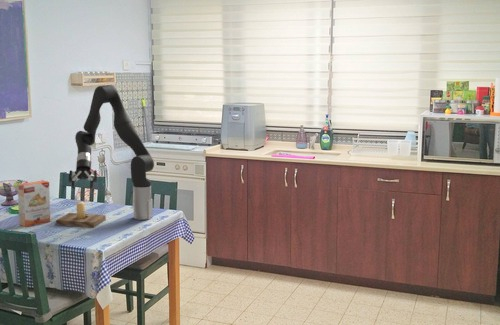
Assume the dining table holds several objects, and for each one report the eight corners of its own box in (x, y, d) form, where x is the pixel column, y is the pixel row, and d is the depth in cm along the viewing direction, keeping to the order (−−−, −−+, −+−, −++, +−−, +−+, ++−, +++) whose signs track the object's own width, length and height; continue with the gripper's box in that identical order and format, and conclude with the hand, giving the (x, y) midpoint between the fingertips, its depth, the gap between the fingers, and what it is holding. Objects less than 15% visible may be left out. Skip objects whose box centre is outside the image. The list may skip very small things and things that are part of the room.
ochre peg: (86, 221, 281) (86, 202, 279) (83, 223, 277) (82, 204, 275) (79, 221, 282) (78, 202, 280) (75, 223, 278) (75, 203, 276)
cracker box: (25, 227, 268) (23, 185, 265) (18, 225, 272) (16, 183, 268) (51, 221, 279) (49, 181, 276) (44, 219, 283) (42, 179, 279)
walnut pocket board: (105, 219, 285) (105, 215, 284) (94, 227, 271) (94, 222, 271) (69, 217, 288) (68, 212, 287) (55, 224, 274) (55, 220, 274)
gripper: (69, 158, 292) (67, 184, 283) (97, 158, 295) (96, 184, 286) (70, 166, 298) (68, 192, 289) (98, 166, 301) (97, 191, 292)
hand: (82, 188), depth 287 cm, fingers open, 8 cm apart
